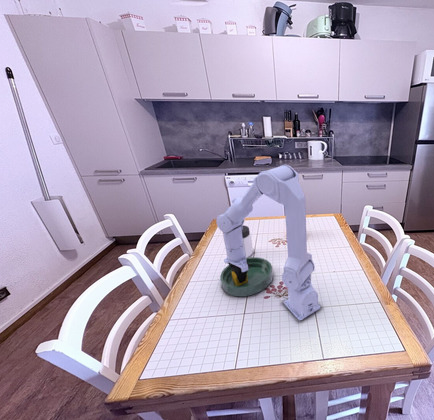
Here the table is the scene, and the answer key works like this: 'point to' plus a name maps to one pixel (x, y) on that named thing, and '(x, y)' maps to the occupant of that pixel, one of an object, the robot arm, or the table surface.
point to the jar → (247, 241)
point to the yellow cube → (237, 279)
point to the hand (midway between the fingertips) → (240, 278)
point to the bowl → (249, 278)
